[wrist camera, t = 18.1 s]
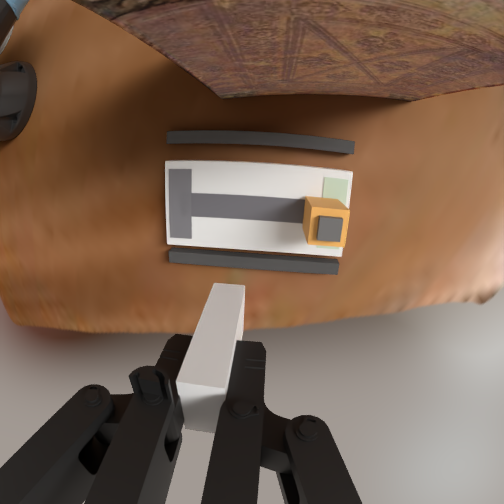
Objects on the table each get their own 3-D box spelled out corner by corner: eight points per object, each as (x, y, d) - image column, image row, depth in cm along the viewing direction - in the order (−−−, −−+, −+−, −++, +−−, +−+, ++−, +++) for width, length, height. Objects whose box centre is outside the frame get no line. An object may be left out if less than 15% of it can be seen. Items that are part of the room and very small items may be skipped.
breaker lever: (305, 196, 34) (312, 208, 27) (337, 199, 34) (352, 212, 27) (302, 227, 35) (308, 247, 29) (333, 230, 35) (346, 250, 29)
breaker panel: (170, 160, 35) (164, 161, 34) (348, 170, 34) (353, 172, 32) (171, 239, 39) (167, 244, 38) (338, 251, 38) (341, 256, 36)
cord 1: (171, 131, 34) (166, 131, 33) (351, 141, 33) (354, 141, 31) (170, 143, 35) (166, 143, 33) (350, 153, 34) (353, 154, 32)
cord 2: (172, 247, 40) (168, 251, 38) (337, 259, 39) (339, 263, 37) (172, 257, 41) (169, 262, 39) (335, 269, 39) (337, 274, 38)
